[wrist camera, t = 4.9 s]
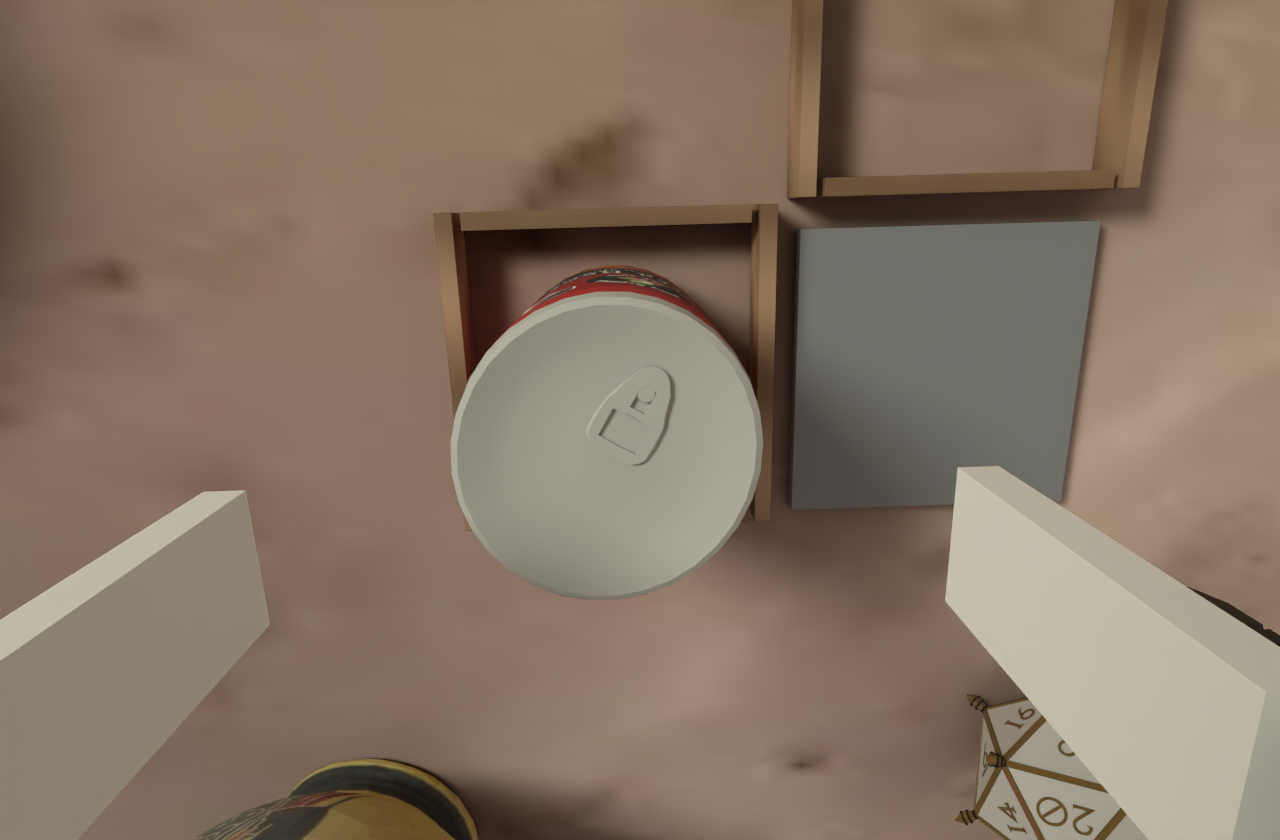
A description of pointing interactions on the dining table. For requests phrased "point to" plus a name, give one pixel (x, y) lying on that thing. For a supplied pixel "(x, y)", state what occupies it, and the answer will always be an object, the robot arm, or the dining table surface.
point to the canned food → (607, 438)
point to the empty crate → (1112, 168)
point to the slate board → (934, 358)
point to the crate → (759, 216)
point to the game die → (1038, 782)
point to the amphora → (356, 808)
